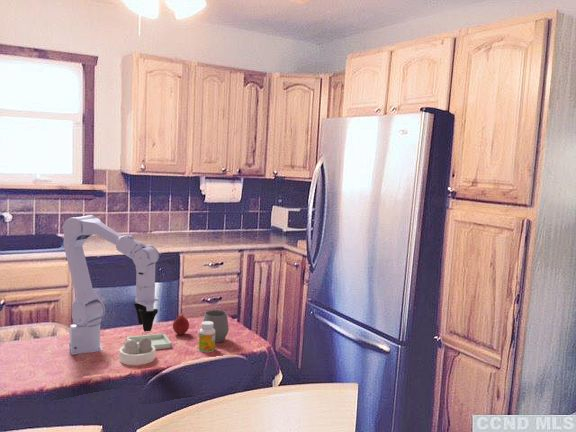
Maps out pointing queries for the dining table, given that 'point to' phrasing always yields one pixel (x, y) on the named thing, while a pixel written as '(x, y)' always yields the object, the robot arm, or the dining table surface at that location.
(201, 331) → the supplement bottle
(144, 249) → the robot arm
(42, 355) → the dining table surface
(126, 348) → the stone
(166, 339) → the tray
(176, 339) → the dining table surface
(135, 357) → the bowl
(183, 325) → the onion
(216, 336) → the cup
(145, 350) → the stone
